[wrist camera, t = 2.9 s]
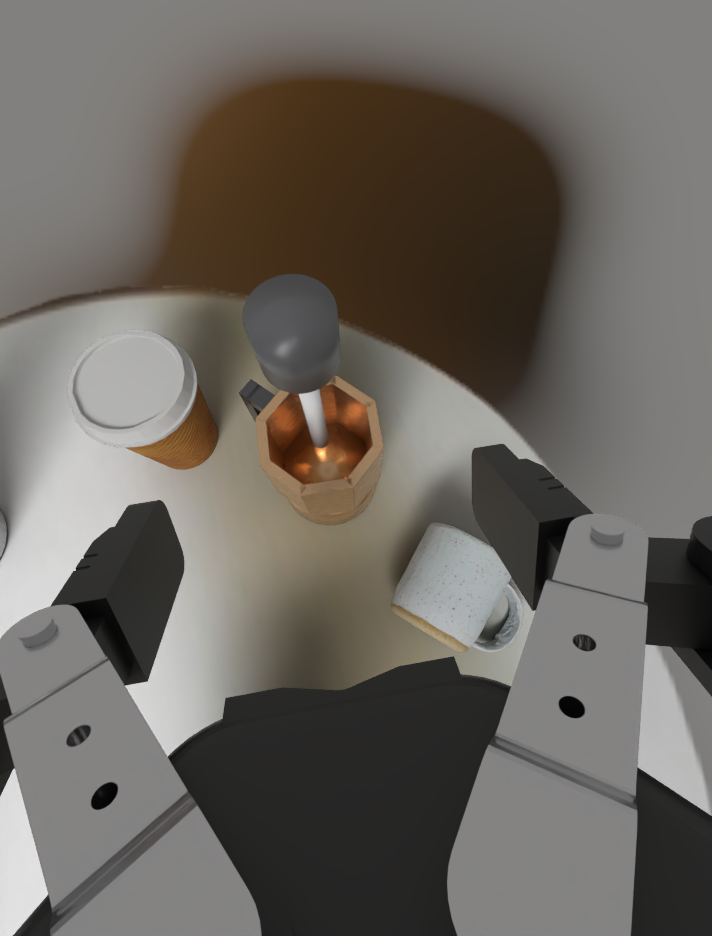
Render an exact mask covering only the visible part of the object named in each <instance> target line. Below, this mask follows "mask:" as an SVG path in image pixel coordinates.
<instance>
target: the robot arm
mask: <svg viewBox="0 0 712 936" xmlns="http://www.w3.org/2000/svg"><path fill="white" fill-rule="evenodd" d="M472 505H473V511H474V515H475V518H476V520H477V522H478V524H479V526H480V527H481V529H482V530H483V532H484V534H485V535H486V537H487V539H488V540H489V542H490V543H491V545H492V547H493V548H494V550H495V551H496V553H497V555H498V556H499V558H500V559H501V561H502V563H503V564H504V566H505V567H506V569H507V571H508V572H509V574H510V575H511V577H512V579H513V580H514V582H515V583H516V585H517V587H518V588H519V590H520V591H521V593H522V595H523V596H524V598H525V599H526V601H527V603H528V604H529V606H530V607H531V609H532V611H534V610H536V612H535V615H534V618H533V621H532V624H531V627H530V630H529V633H528V637H527V640H526V643H525V646H524V649H523V652H522V655H521V658H520V661H519V664H518V667H517V670H516V673H515V676H514V680H513V683H512V686H508V685H506V684H503V683H501V682H498V681H495V680H491V679H487V678H484V677H478V676H472V675H461V674H460V672H459V669H458V666H457V664H456V661H455V658H454V656H453V657H448V658H443V659H437V660H432V661H426V662H421V663H415V664H410V665H404V666H399V667H396V668H394V669H392V670H390V671H387V672H385V673H383V674H380V675H378V676H376V677H373V678H371V679H369V680H366V681H364V682H362V683H359V684H357V685H355V686H352V687H350V688H348V689H345V690H317V689H298V688H278V689H273V690H267V691H262V692H257V693H251V694H246V695H240V696H235V697H229V698H226V700H225V706H224V713H223V719H221V720H219V721H217V722H215V723H213V724H211V725H209V726H207V727H206V728H204V729H202V730H201V731H199V732H198V733H196V734H195V735H193V736H192V737H190V738H189V739H187V740H186V741H185V742H184V743H183V744H181V745H180V746H179V747H178V748H176V749H175V750H174V751H173V752H172V753H171V754H170V755H169V756H168V757H167V755H166V754H165V752H164V750H163V749H162V747H161V745H160V744H159V742H158V740H157V739H156V737H155V735H154V734H153V732H152V730H151V729H150V727H149V725H148V724H147V722H146V720H145V719H144V717H143V715H142V714H141V712H140V710H139V709H138V707H137V705H136V704H135V702H134V700H133V699H132V697H131V695H130V694H129V692H128V690H127V689H126V687H125V685H130V684H136V683H141V682H147V681H148V679H149V676H150V673H151V670H152V667H153V664H154V661H155V658H156V655H157V652H158V649H159V645H160V642H161V639H162V636H163V633H164V630H165V627H166V624H167V621H168V618H169V615H170V612H171V609H172V606H173V603H174V600H175V597H176V594H177V591H178V588H179V585H180V582H181V579H182V576H183V573H184V556H183V551H182V548H181V545H180V543H179V540H178V537H177V534H176V532H175V529H174V526H173V524H172V521H171V518H170V516H169V513H168V510H167V508H166V506H165V504H164V503H163V502H162V501H161V500H157V501H151V502H145V503H139V504H133V505H129V506H128V507H127V508H126V510H125V511H124V513H123V514H122V516H121V518H120V519H119V521H118V523H117V524H116V526H115V527H111V528H109V529H108V530H107V531H105V532H104V533H103V534H102V535H100V536H99V537H98V538H97V539H96V540H94V541H93V543H92V544H91V546H90V547H89V549H88V550H87V552H86V553H85V555H84V559H81V561H80V562H79V564H78V565H77V567H76V571H73V573H72V574H71V576H70V577H69V579H68V580H67V582H66V583H65V585H64V586H63V588H62V590H61V591H60V593H59V594H58V596H57V597H56V599H55V600H54V602H53V603H52V605H51V606H50V607H47V608H44V609H41V610H39V611H37V612H34V613H32V614H30V615H29V616H27V617H25V618H23V619H22V620H20V621H19V622H17V623H16V624H15V625H13V626H12V627H11V628H10V629H9V630H8V631H7V632H6V633H5V634H4V635H3V636H2V637H1V639H0V796H1V793H2V791H3V789H4V787H5V785H6V783H7V781H8V779H9V777H10V774H11V772H12V770H13V769H14V768H15V770H16V774H17V778H18V782H19V785H20V789H21V793H22V797H23V800H24V804H25V808H26V812H27V815H28V819H29V823H30V827H31V830H32V834H33V838H34V842H35V845H36V849H37V853H38V857H39V860H40V864H41V868H42V872H43V875H44V879H45V883H46V887H47V890H48V896H47V897H46V898H45V899H44V900H43V901H42V902H41V904H40V905H39V906H38V907H37V908H36V909H35V911H34V912H33V913H32V914H31V915H30V916H29V918H28V919H27V920H26V921H25V922H24V923H23V925H22V926H21V927H20V928H19V929H18V930H17V932H16V933H15V934H14V935H13V936H712V816H711V815H709V814H708V813H706V812H705V811H703V810H701V809H700V808H698V807H697V806H695V805H694V804H692V803H691V802H689V801H688V800H686V799H685V798H683V797H682V796H680V795H679V794H677V793H676V792H674V791H673V790H671V789H670V788H668V787H667V786H665V785H664V784H662V783H660V782H659V781H657V780H656V779H654V778H653V777H651V776H650V775H648V774H647V773H645V772H644V771H642V770H641V769H639V768H638V767H637V765H638V749H639V734H640V719H641V704H642V689H643V674H644V659H645V644H647V645H658V646H670V647H672V648H673V650H674V651H675V652H676V653H677V655H678V656H679V657H680V658H681V660H682V661H683V662H684V663H685V664H686V666H687V667H688V668H689V669H690V671H691V672H692V673H693V674H694V675H695V677H696V678H697V679H698V680H699V682H700V683H701V684H702V685H703V686H704V688H705V689H706V690H707V691H708V692H709V694H710V695H711V696H712V516H710V517H705V518H702V519H700V520H698V521H696V522H695V524H694V526H693V528H692V532H691V535H690V539H673V538H672V539H671V538H649V537H648V536H647V534H646V533H645V531H644V530H643V529H642V528H641V527H639V526H638V525H637V524H635V523H633V522H631V521H629V520H627V519H624V518H621V517H618V516H614V515H608V514H593V513H592V512H591V511H590V510H589V509H588V508H587V507H586V506H585V505H584V504H583V503H582V502H581V501H580V500H579V499H578V498H577V497H575V496H574V495H573V494H572V493H571V492H570V491H569V490H568V489H567V488H564V486H563V484H562V483H561V482H560V481H559V480H558V479H555V477H554V476H553V475H552V474H551V473H550V472H549V471H548V470H547V469H546V468H545V467H544V466H542V465H540V464H537V463H535V462H533V461H531V460H528V459H520V460H519V459H518V458H517V457H516V456H515V455H514V454H513V453H512V452H511V451H510V450H509V449H508V448H507V447H506V446H505V445H504V444H498V445H491V446H485V447H479V448H474V449H473V452H472ZM6 537H7V528H6V522H5V519H4V516H3V514H2V512H1V511H0V557H1V556H2V553H3V550H4V547H5V544H6Z"/></svg>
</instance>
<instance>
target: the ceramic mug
mask: <svg viewBox="0 0 712 936" xmlns="http://www.w3.org/2000/svg"><path fill="white" fill-rule="evenodd" d="M510 579H511V575H510V574H509V572H508V571H507V569H506V567H505V566H504V564H503V563H502V561H501V559H500V558H499V556H498V555H497V553H496V551H495V550H494V548H493V547H492V546H490V545H488V544H487V543H485V542H483V541H482V540H480V539H478V538H476V537H474V536H472V535H470V534H468V533H466V532H464V531H462V530H460V529H458V528H456V527H453V526H451V525H446V524H443V523H440V522H434V523H431V524H430V525H429V526H428V528H427V530H426V532H425V534H424V536H423V538H422V540H421V541H420V543H419V545H418V547H417V549H416V551H415V553H414V555H413V557H412V559H411V561H410V563H409V565H408V567H407V568H406V570H405V572H404V574H403V576H402V578H401V580H400V582H399V583H398V585H397V587H396V590H395V592H394V595H393V598H392V602H391V608H392V611H393V612H394V614H396V615H398V616H399V617H401V618H402V619H404V620H406V621H407V622H409V623H411V624H412V625H414V626H416V627H417V628H419V629H420V630H422V631H423V632H425V633H427V634H428V635H430V636H432V637H433V638H435V639H437V640H438V641H440V642H442V643H443V644H445V645H447V646H448V647H450V648H451V649H453V650H455V651H456V652H459V653H461V652H465V651H467V650H468V649H469V648H470V647H471V646H472V647H475V648H476V649H479V650H482V651H485V652H497V651H500V650H502V649H504V648H506V647H507V646H508V645H509V644H510V643H511V642H512V641H513V640H514V639H515V637H516V635H517V634H518V632H519V630H520V628H521V625H522V620H523V609H522V604H521V601H520V599H519V596H518V595H517V593H516V591H515V590H514V589H513V587H512V586H511V585H510V584H509V581H510ZM503 591H504V592H505V594H506V596H507V597H508V601H509V606H510V612H509V616H508V618H507V620H506V622H505V623H504V625H503V627H502V628H501V630H500V631H499V633H497V634H496V635H495V638H494V640H492V641H490V642H485V643H479V642H475V641H476V640H477V638H478V637H479V635H480V633H481V632H482V630H483V628H484V626H485V624H486V622H487V619H488V617H489V616H490V614H491V612H492V610H493V609H494V607H495V605H496V604H497V602H498V600H499V598H500V597H501V595H502V593H503Z"/></svg>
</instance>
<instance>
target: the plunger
mask: <svg viewBox="0 0 712 936" xmlns="http://www.w3.org/2000/svg"><path fill="white" fill-rule="evenodd" d="M243 324H244V327H245V330H246V333H247V335H248V338H249V340H250V342H251V345H252V347H253V350H254V352H255V355H256V357H257V359H258V362H259V364H260V367H261V369H262V371H263V374H264V375H265V377H266V378H267V380H268V381H269V382H270V383H271V384H272V385H274V386H275V387H276V388H278V389H280V390H282V391H285V392H288V393H294V394H299V397H300V400H301V404H302V407H303V411H304V414H305V417H306V421H307V424H308V428H309V431H310V435H311V438H312V442H313V444H314V446H316V447H317V448H324V447H326V446H327V445H328V443H329V437H328V432H327V427H326V422H325V417H324V411H323V406H322V401H321V396H320V391H319V389H320V388H322V387H323V386H325V385H326V384H328V383H329V382H330V381H331V380H332V379H333V377H334V376H335V375H336V373H337V371H338V369H339V366H340V362H341V349H340V337H339V325H338V314H337V305H336V301H335V299H334V296H333V295H332V293H331V292H330V291H329V289H328V288H327V287H326V286H325V285H324V284H322V283H321V282H320V281H318V280H316V279H314V278H312V277H309V276H305V275H300V274H285V275H280V276H276V277H273V278H271V279H268V280H266V281H265V282H263V283H261V284H260V285H259V286H257V287H256V288H255V289H254V290H253V291H252V293H251V294H250V295H249V297H248V299H247V300H246V303H245V305H244V309H243Z"/></svg>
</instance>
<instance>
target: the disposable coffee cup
mask: <svg viewBox="0 0 712 936" xmlns="http://www.w3.org/2000/svg"><path fill="white" fill-rule="evenodd" d="M67 393H68V400H69V404H70V407H71V409H72V412H73V415H74V417H75V419H76V422H77V423H78V425H79V426H80V428H81V429H82V430H83V431H84V432H85V433H86V434H87V435H89V436H90V437H92V438H93V439H95V440H97V441H98V442H101V443H103V444H106V445H110V446H114V447H124V448H127V449H129V450H131V451H134V452H136V453H139V454H141V455H143V456H145V457H148V458H150V459H152V460H155V461H157V462H159V463H162V464H164V465H166V466H168V467H171V468H174V469H190V468H193V467H196V466H198V465H200V464H202V463H203V462H204V461H205V460H207V459H208V458H209V456H210V455H211V454H212V452H213V451H214V449H215V447H216V443H217V438H218V435H217V428H216V425H215V423H214V421H213V418H212V416H211V414H210V411H209V409H208V407H207V405H206V402H205V400H204V398H203V395H202V393H201V391H200V388H199V386H198V384H197V374H196V370H195V367H194V364H193V362H192V360H191V358H190V357H189V355H188V354H187V352H186V351H185V350H184V349H183V348H182V347H181V346H180V345H178V344H177V343H175V342H173V341H172V340H170V339H168V338H165V337H162V336H160V335H158V334H156V333H153V332H149V331H145V330H124V331H120V332H116V333H113V334H110V335H108V336H105V337H103V338H101V339H100V340H98V341H97V342H95V343H94V344H92V345H91V346H90V347H89V348H88V349H86V350H85V351H84V352H83V353H82V355H81V356H80V357H79V359H78V360H77V361H76V362H75V364H74V366H73V368H72V370H71V373H70V376H69V380H68V386H67Z"/></svg>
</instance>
